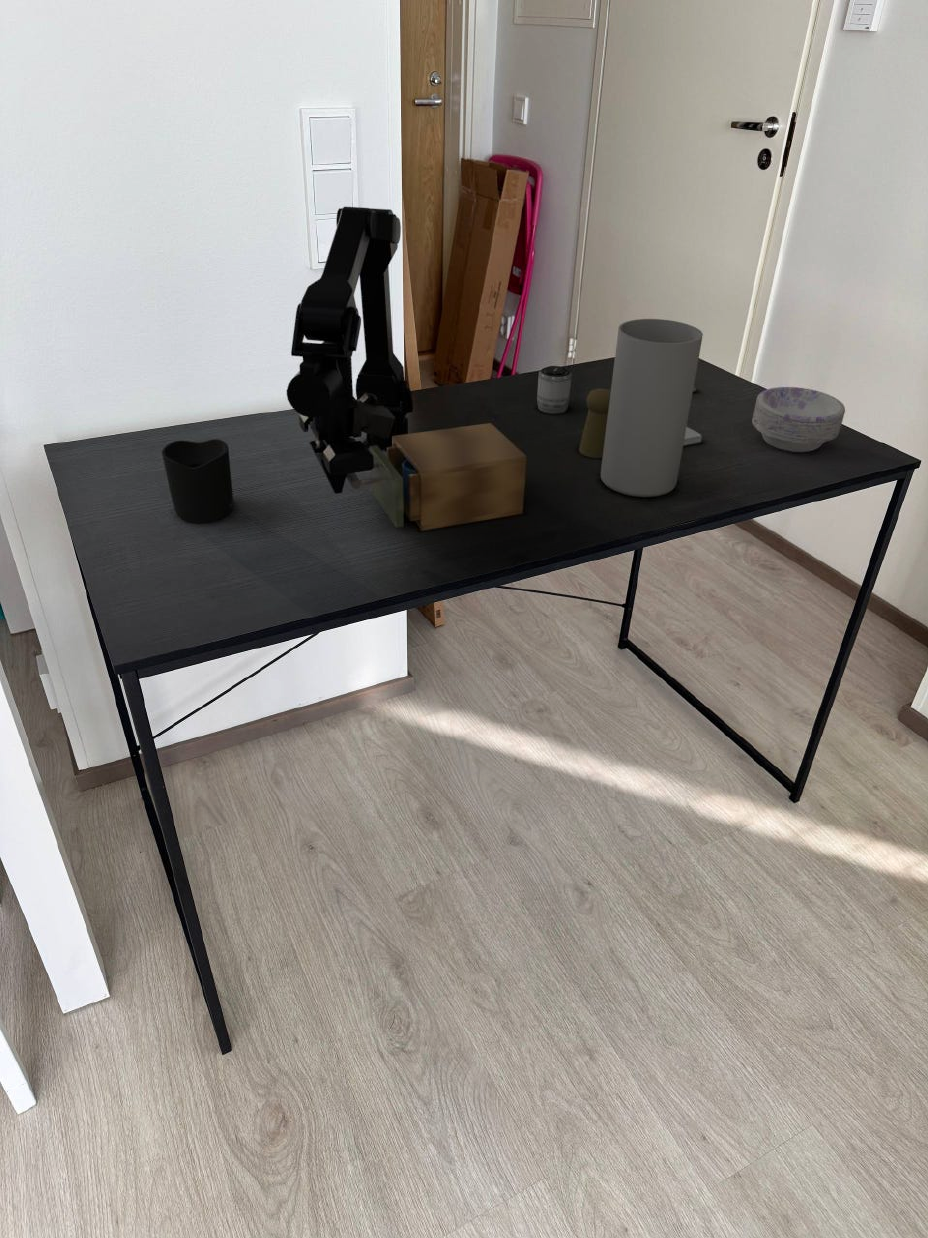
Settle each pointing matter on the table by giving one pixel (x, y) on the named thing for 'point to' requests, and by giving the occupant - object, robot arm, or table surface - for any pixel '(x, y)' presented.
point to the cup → (407, 478)
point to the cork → (595, 423)
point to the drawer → (391, 485)
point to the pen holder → (199, 479)
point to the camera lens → (554, 389)
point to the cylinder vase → (649, 405)
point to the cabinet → (465, 474)
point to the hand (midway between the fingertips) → (337, 492)
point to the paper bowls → (797, 418)
